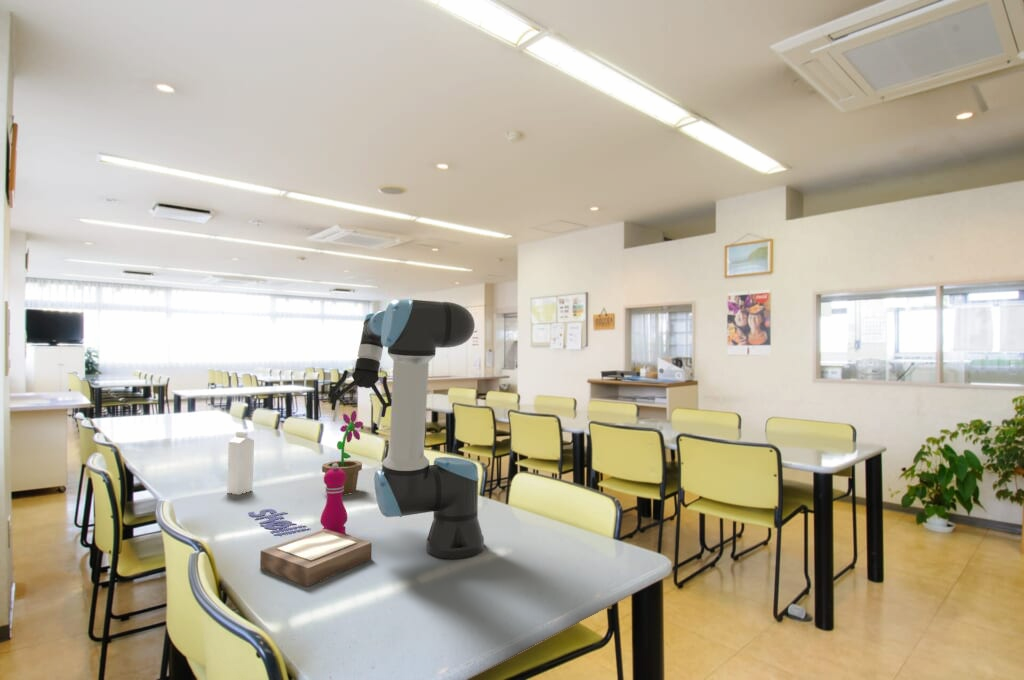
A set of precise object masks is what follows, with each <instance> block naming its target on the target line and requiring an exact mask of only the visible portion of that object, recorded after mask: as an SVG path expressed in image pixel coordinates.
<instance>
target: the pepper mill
mask: <svg viewBox="0 0 1024 680" xmlns="http://www.w3.org/2000/svg"><path fill="white" fill-rule="evenodd" d="M332 468H333V469H331V470H329V471H327V472H326V473H324V476H323V482H324V483H323V484H324V485H326V486H325V493H326V503H325V506H324V508H323V510H322V512H321V516H320V525H321V526H322V527H323V528H322V529H321V530H324V529H327V530H330V531H334V532H337V533H341V534H344V535H346V523H347V521H348V512H347V510H346V508H345V504H344V502H343V495H342V492H343V491H344V485H343V483H344V482H345V481H346V474H345V472H344V471H343V470H341V469H338V464H337V463H334V464H333V465H332Z"/></svg>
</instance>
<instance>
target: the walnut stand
mask: <svg viewBox="0 0 1024 680" xmlns="http://www.w3.org/2000/svg"><path fill="white" fill-rule="evenodd" d="M372 544H373V543H372V542H371V541H368V540H364V539H360V538H358V537H354V536H351V535H347V534H341V533H337V532H334V531H330V530H327V529H324V530H322V529H321V530H318V531H315V532H313V533H310V534H305V535H303V536H301V537H297V538H294V539H291V540H288V541H285V542H282V543H279V544H276V545H273V546H271V547H267V548H265V549H262V550H260V558H259V559H260V560H259V563H260V564H259V565H260V566H259V569H262V570H265V571H268V572H270V573H272V574H274V575H278V576H280V577H282V578H285V579H287V580H290V581H292V582H295V583H298V584H299V583H300V584H299V585H302V584H303V586H304V585H305V586H304V587H307V586H308V587H310V586H309V585H311V584H313V583H315V584H317V583H319V582H318V581H320V580H322V581H324V580H326V579H325V578H327V577H329V578H331V577H333V576H335V575H334V574H336V575H338V574H340V573H342V572H341V571H343V572H345V571H346V569H347V570H349V569H351V568H350V567H352V568H353V566H354V567H356V566H359V565H361V564H363V563H365V562H367V560H368V561H370V560H372V551H373V549H372V548H373V547H372V546H373V545H372ZM369 559H370V560H369ZM362 562H363V563H362ZM360 563H361V564H360ZM358 564H359V565H358ZM348 568H349V569H348ZM344 570H345V571H344ZM339 572H340V573H339ZM337 573H338V574H337ZM332 575H333V576H332ZM330 576H331V577H330ZM323 579H324V580H323ZM327 579H328V578H327ZM316 582H317V583H316ZM320 582H321V581H320ZM313 585H314V584H313ZM311 586H312V585H311Z"/></svg>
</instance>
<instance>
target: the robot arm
mask: <svg viewBox="0 0 1024 680" xmlns="http://www.w3.org/2000/svg"><path fill="white" fill-rule="evenodd" d="M475 324H476V323H475V319H474V316H473V315H472V313H471V312H470V311H469V310H468V309H467V308H466V307H464V306H462V305H461V304H458V303H456V302H451V301H436V300H435V301H434V300H420V299H419V300H418V299H411V298H408V299H407V298H406V299H402V298H401V299H400V298H399V299H394V300H392V301H390V303H388V305H387V307H386V308H385V310H380V311H377V312H369V313H367V314H366V315H365V318H364V321H363V328H362V333H361V337H360V343H359V347H358V352H357V359H356V362H355V367H354V371H352V372H351V371H348V370H347V369H345V370H343V373H342V376H341V378H340V379H338V381H337V383H335V385H334V386H333V388H332V389H331V390H330V391H329V392H328V395H327V396H328V399H329V398H330V399H332V404H331V410H332V411H333V417H332V422H335V423H336V421H337V417H338V412H339V408H340V403H341V402H340V400H339V399H340V398H342V397H343V396H345V394H347V393H348V392H350V391H351V390H352V389H354V388H355V387H356V386H357V387H358V388H365V389H370V388H371V389H372V391H373V392H374V394H375V396H376V397H377V399H378V401H379V402H380V404H381V405H382V406H380V407H379V412H378V419H377V423H376V427H377V428H380V424H381V420H382V418H385V417H386V412H387V408H388V407H391V409H390V428H389V447H388V449H389V450H388V451H389V453H388V455H387V456H386V457H385V458H384V459H383V460H382V465H381V468H379V469H376V470H375V471H374V479H373V480H374V491H375V497H376V501H377V506H378V508H379V509H378V510H379V511H380V513H381V515H383V516H384V517H386V518H395V517H396V518H397V517H399V518H401V517H403V516H404V517H405V516H406V517H407V516H413V515H419V514H426V513H432V512H433V519H432V522H431V526H430V529H429V532H428V535H427V538H426V541H425V542H426V547H425V548H426V550H425V551H426V552H427V553H428V554H429V555H430V556H433V557H435V558H440V559H450V560H451V559H453V560H457V559H465V558H466V559H467V558H470V557H473V556H476V555H478V554H480V553H482V551H484V549H485V538H484V535H483V533H482V532H483V531H482V529H481V524H480V521H479V518H478V516H479V515H478V513H479V510H478V509H479V503H478V502H479V500H478V499H479V471H478V470H479V469H478V466H477V464H476V463H475V462H473V461H471V460H468V459H466V458H465V459H464V458H459V457H451V456H449V457H447V456H445V457H444V456H443V457H440V456H439V457H436V458H434V461H433V464H430V460H429V459H428V458H427V457H426V456H425V442H426V441H425V437H426V421H427V405H428V404H427V402H428V401H427V400H428V384H429V383H428V382H429V381H428V378H429V366H430V365H429V363H430V361H431V360H433V359H434V358H435V356H436V351H437V350H436V349H437V348H438V349H439V348H440V349H441V348H442V349H443V348H444V349H445V348H453V347H457V346H461V345H463V344H465V343H467V342H468V341H469V340H470V339H471V337H473V334H474V331H475V328H476V327H475ZM384 348H387V355H388V356H389V357H390V358H391V359H392V361H393V365H392V368H393V369H392V383H391V384H392V385H391V386H392V387H391V388H392V389H391V392H390V390H389V387H388V377H387V376H386V375H385V376H379V371H380V364H381V363H380V361H381V360H382V355H383V350H384ZM350 377H352V379H353V381H351V382H350V383H349V384H348V385H347V386H346V387H344V388H343V389H342V390H341V391H339V392H338V390H340V388H341V387H342V385H343V384H344V383H345V382H346V380H347V379H349V378H350ZM378 381H379V382H380V384H382V387H383V390H384V393H385V396H386V400H385V399H384V397H383V395H382V394H381V391H379V389H378V387H377V385H376V383H377V382H378ZM336 392H338V393H336ZM386 401H387V402H386Z"/></svg>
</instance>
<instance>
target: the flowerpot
mask: <svg viewBox="0 0 1024 680" xmlns="http://www.w3.org/2000/svg"><path fill="white" fill-rule="evenodd" d="M342 419H343V421H344V422H345V425H342V426H340V428H339V429H340V432H342V433H344V435H343V438H342V441H341V440H338V441H337V444H336V448H337V449H338V450H339V451H340V450H341V451H340V452H341V455H340V456H341V457H340V458H341V460H335V461H329V462H326V463H323V464H322V466H321V473H324V474H325V473H326V472H327V471H329V470H331V469H333V468H332V465H333V464H334V463H337V464H338V469H341V470H343V471H344V472H345V474H346V481H345V482H344V483H343V485H344V491H343V492H342V496H345V495H344V494H348V495H350V494H349V493H352V494H354V493H353V492H355V491H356V492H357V485H358V478H359V471H363V470H362V469H363V462H361V461H360V460H359V461H358V460H348V459H350V458H351V457H352V456H351V455H350V454H349V453H347V452H345V444H346V442H347V443H351V440H353V437H354V438H355V439H356V440H357V441H360V439H361V434H360V432H359V431H358V430H357V429H359V428H362V427H363V425H364V423H363V421H360V420H359V421H357V420H356V419H357V411H356V410H353V411H352V412H351V414H350V416H349V415H348V414H347V413H343V414H342ZM355 421H356V422H355ZM347 424H348V425H347ZM345 459H346V460H345ZM356 492H355V493H356Z"/></svg>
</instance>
